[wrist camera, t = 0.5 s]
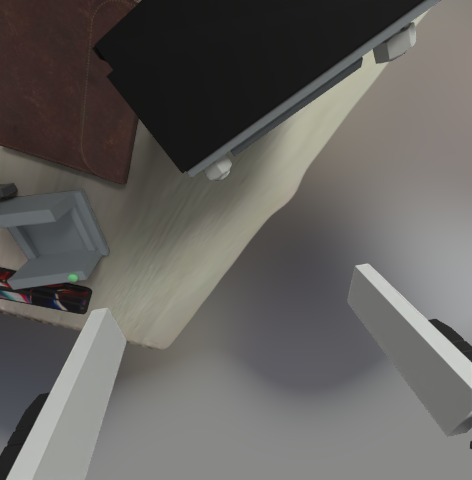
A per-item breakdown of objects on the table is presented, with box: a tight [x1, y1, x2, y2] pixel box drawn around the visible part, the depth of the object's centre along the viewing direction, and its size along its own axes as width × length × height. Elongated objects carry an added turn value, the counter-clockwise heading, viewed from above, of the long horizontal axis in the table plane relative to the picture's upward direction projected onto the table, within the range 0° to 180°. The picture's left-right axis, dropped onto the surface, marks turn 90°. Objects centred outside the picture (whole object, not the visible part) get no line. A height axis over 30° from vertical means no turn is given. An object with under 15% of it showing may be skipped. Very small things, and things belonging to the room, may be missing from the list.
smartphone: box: [0, 267, 92, 314], centre depth 42 cm, size 7×1×15 cm
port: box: [0, 190, 110, 290], centre depth 33 cm, size 11×12×7 cm
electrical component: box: [92, 0, 441, 181], centre depth 21 cm, size 18×10×20 cm, turn 122°
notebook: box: [0, 0, 138, 184], centre depth 27 cm, size 15×20×2 cm
